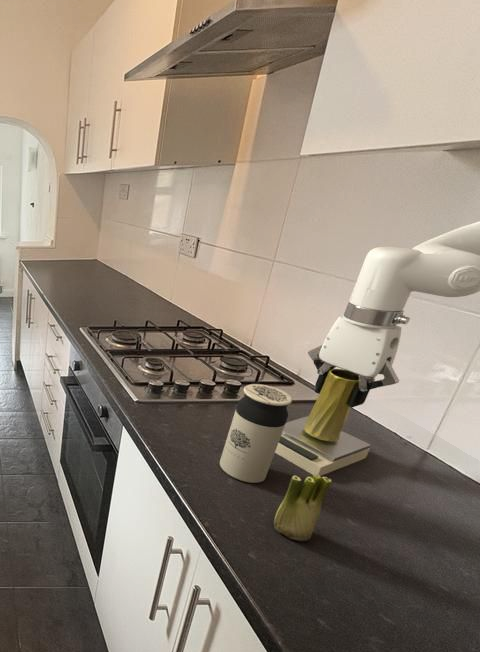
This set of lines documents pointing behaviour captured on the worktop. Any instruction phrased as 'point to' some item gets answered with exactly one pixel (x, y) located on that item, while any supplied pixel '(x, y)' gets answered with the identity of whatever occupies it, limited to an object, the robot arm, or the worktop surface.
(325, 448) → the gray slab
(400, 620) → the worktop surface
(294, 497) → the fennel bulb
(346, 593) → the worktop surface
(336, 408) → the vase
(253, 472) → the travel mug
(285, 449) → the scale
